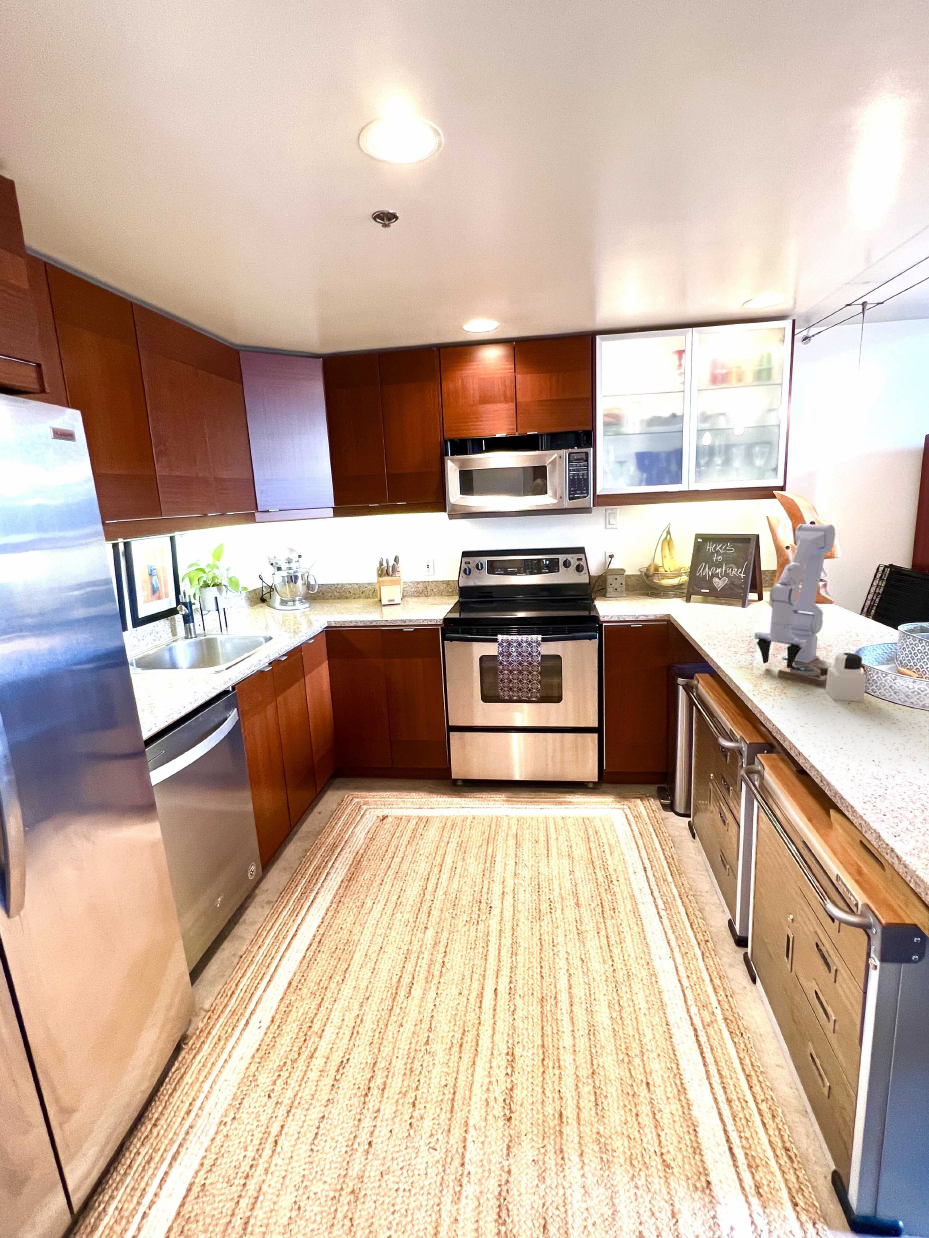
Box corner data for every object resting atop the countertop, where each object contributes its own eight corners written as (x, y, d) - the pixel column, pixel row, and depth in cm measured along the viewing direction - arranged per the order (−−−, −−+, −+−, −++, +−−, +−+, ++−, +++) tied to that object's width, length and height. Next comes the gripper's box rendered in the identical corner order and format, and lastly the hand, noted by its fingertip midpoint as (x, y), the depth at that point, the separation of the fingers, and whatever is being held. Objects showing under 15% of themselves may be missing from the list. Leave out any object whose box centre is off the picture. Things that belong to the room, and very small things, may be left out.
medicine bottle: (853, 692, 161) (859, 651, 158) (863, 702, 154) (869, 659, 152) (825, 691, 163) (829, 650, 160) (833, 700, 156) (838, 657, 154)
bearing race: (796, 670, 181) (797, 662, 180) (824, 676, 175) (825, 668, 174) (784, 676, 176) (785, 668, 176) (813, 682, 170) (813, 674, 169)
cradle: (795, 667, 183) (795, 661, 183) (838, 676, 174) (839, 670, 173) (777, 676, 175) (778, 670, 175) (822, 686, 166) (822, 680, 166)
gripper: (751, 621, 181) (748, 662, 184) (801, 629, 170) (796, 673, 173) (761, 617, 185) (758, 658, 188) (810, 625, 174) (806, 667, 177)
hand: (777, 665), depth 181 cm, fingers open, 7 cm apart
